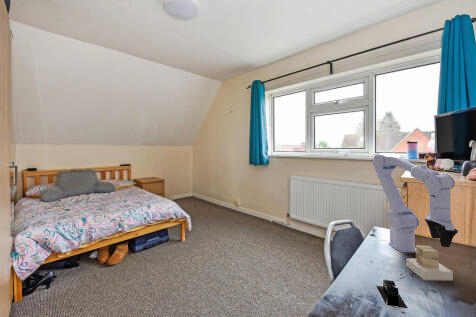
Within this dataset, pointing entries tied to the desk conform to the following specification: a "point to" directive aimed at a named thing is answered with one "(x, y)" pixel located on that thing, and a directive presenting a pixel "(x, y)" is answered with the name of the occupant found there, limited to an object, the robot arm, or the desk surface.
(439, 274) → the base
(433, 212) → the robot arm
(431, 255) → the oak block
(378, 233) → the desk surface
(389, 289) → the black mounting plate
